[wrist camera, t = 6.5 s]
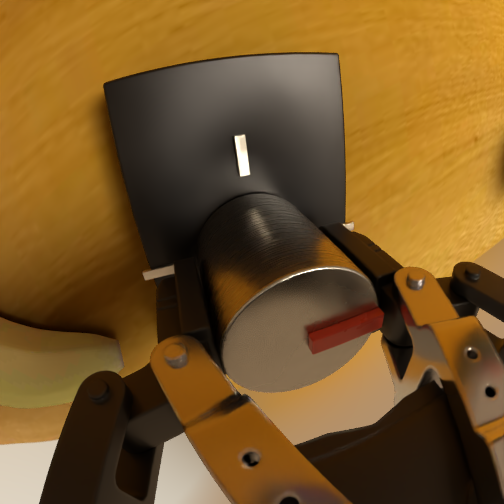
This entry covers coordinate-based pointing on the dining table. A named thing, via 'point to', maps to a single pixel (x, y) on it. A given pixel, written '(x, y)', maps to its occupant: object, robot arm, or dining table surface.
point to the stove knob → (281, 295)
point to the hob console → (227, 143)
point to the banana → (50, 364)
